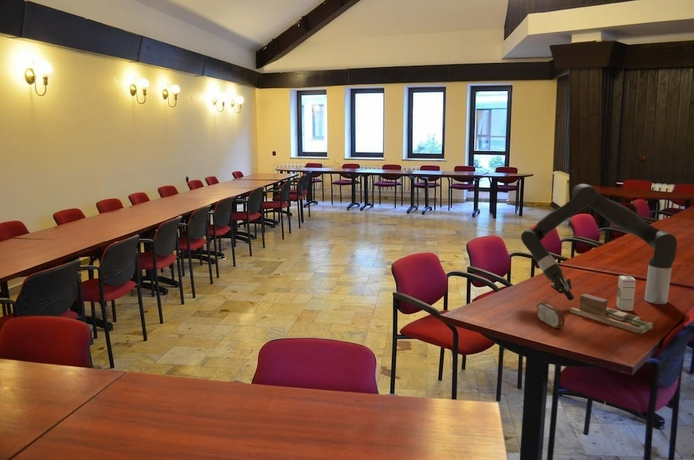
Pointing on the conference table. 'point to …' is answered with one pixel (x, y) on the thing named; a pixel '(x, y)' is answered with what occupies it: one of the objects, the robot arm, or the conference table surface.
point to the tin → (550, 315)
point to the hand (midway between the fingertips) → (572, 299)
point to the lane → (619, 316)
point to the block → (593, 305)
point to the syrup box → (625, 293)
